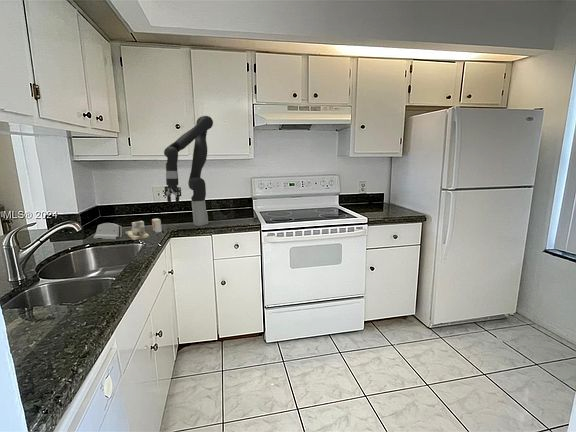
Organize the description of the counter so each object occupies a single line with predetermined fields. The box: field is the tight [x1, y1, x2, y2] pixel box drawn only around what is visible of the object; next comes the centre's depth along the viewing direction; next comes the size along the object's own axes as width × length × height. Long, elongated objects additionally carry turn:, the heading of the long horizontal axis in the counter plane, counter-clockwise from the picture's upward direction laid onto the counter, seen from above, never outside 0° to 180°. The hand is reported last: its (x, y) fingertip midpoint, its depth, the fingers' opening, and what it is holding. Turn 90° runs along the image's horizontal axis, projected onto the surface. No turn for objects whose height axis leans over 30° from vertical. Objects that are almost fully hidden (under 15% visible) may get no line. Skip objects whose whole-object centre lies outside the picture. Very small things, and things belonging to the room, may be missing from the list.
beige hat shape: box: [124, 220, 150, 241], centre depth 197 cm, size 9×20×10 cm, turn 39°
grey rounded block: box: [93, 222, 123, 240], centre depth 195 cm, size 17×5×10 cm, turn 76°
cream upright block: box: [151, 217, 162, 234], centre depth 207 cm, size 6×4×8 cm, turn 39°
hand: (173, 202), depth 210 cm, fingers open, 8 cm apart
